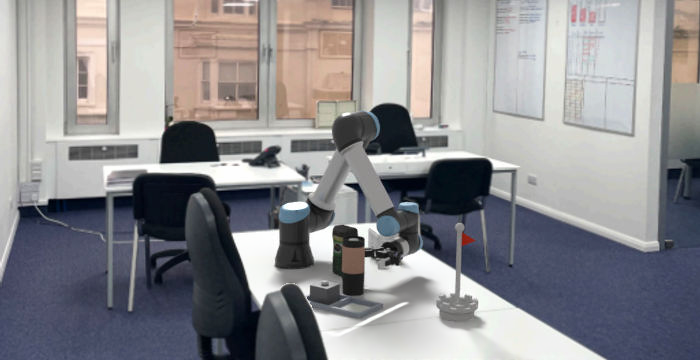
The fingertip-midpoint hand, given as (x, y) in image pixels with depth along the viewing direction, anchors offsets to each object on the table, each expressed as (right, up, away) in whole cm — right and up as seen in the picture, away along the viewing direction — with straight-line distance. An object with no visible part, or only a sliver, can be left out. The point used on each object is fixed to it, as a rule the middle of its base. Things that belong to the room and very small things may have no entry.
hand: (361, 262), depth 278 cm
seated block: (-12, -12, -12) cm, 21 cm away
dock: (-7, -13, -15) cm, 21 cm away
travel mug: (-3, -11, -1) cm, 12 cm away
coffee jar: (-6, -7, +24) cm, 26 cm away
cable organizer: (+10, -3, +49) cm, 50 cm away
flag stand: (+30, -15, -20) cm, 39 cm away
